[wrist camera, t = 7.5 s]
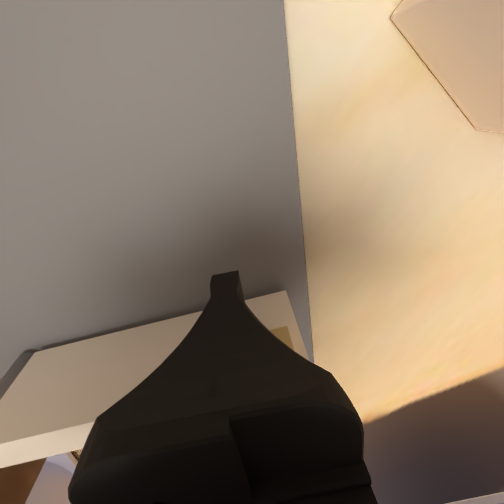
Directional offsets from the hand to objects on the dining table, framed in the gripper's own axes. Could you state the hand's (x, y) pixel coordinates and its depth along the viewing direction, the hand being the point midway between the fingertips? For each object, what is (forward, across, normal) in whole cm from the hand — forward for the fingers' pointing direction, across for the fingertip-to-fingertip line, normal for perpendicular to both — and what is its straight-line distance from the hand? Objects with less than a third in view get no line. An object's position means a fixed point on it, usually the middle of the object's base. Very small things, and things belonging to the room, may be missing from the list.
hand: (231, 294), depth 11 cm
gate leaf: (+2, +4, +3) cm, 5 cm away
